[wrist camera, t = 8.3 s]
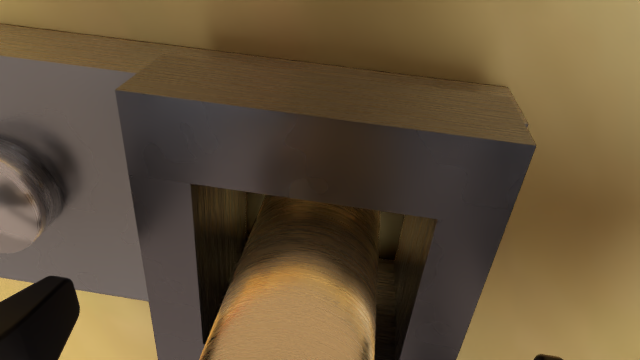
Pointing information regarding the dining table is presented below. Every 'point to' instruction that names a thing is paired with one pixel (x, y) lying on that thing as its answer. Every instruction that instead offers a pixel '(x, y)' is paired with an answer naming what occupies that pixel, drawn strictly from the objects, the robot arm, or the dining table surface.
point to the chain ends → (246, 176)
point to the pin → (302, 286)
